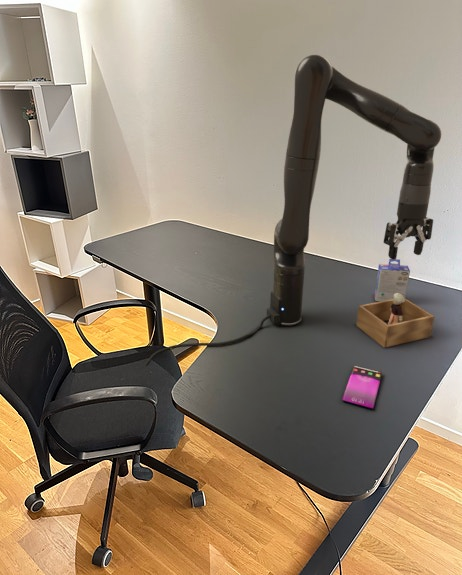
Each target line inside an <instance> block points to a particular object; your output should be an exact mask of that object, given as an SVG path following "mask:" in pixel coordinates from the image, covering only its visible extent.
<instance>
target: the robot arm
mask: <svg viewBox="0 0 462 575" xmlns="http://www.w3.org/2000/svg"><path fill="white" fill-rule="evenodd" d="M293 88H294V89H293V90H294V94H293V96H294V97H293V113H292V119H291V125H290V129H289V134H288V139H287V145H286V151H285V155H284V156H285V158H284V164H283V165H284V166H283V194H284V195H283V196H284V203H283V204H284V206H283V214H282V218H281V219H280V220H278V221H277V223H276V225H275V227H274V233H273V286H272V287H273V289H272V290H271V291H270V297H269V298H270V301H269V307H267V308H266V316H265V317H264V318H262V319H261V321H260V323H259V325H258V326H257V328H256V329H254V330H253V331H251V332H249V333H247V334H244V335H243V336H240V337H237V338H235V339H231V340H226V341H220V342H194V343H181V344H180V343H179V344H174V345H170V346H167V347H164V348H161V349H158V350H157V351H155V352H154V353H152V354H151V355H150V356H149V358H148V359H147V360H146V362H145V363H144V367H148V366H149V365H150V363H151V362H152V360H153V359H154V358H155V357H156V356H158V355H159V354H161V353H164V352H167V351H169V350H172V349H173V350H174V349H177V348H188V347H189V348H190V347H200V346H201V347H203V346H204V347H205V346H206V347H215V346H218V347H219V346H225V345H229V344H234V343H237V342H240V341H242V340H244V339H246V338H249V337H251V336H253V335H255V334H256V333H258V331H260V330H261V328H263V325H264V323H265V322H266V321H267V320H268V319H269V320H270V321H271V322H272V323H273V324H275V325H276V326H277V327H281V326H282V327H294V326H297V325H299V324H300V323H301V322H302V310H303V299H304V298H303V296H304V283H305V271H306V270H305V269H306V268H305V267H306V263H305V262H306V261H305V249H306V246H307V245H308V242H309V240H310V236H309V235H310V219H311V217H310V216H311V207H312V203H313V202H312V201H313V198H314V192H315V189H316V184H317V177H318V173H319V167H320V166H319V165H320V160H321V152H322V119H323V113H324V107H325V104H326V100H328V101H331V102H333V103H335V104H337V105H339V106H341V107H343V108H345V109H347V110H348V111H349V112H351V113H353V114H354V115H356V116H357V117H359V118H360V119H362V120H364V121H365V122H367V123H369V124H370V125H372V126H374V127H375V128H377V129H380V130H382V131H383V132H385V133H387V134H389V135H392V136H394V137H396V138H397V139H399V140H400V141H402V142H403V143H405V144H406V157H405V159H406V160H405V166H404V170H403V175H402V183H401V186H400V191H399V195H398V196H399V198H398V203H397V211H396V216H397V221H396V222H394V223H392V222H387V223H386V226H385V232H384V237H383V244H384V245H387V246H388V254H387V256H388V257H389V259H393V260H394V259H397V256H398V249H399V247H398V246H399V245H400V244H401V242H403V241H405V239H406V238H410V237H414V239H415V241H414V246H413V254H414V255H416V256H420V255H422V252H423V248H424V244H425V242H426V241H427V240H428V241H429V240H431V239H432V234H433V227H434V226H433V225H434V219H433V218H430V217H428V216H427V215H428V210H429V204H430V198H431V191H432V190H431V189H432V188H431V187H432V181H433V175H434V168H435V167H434V154H435V148H436V147H437V146H438V145H439V143H440V142H441V139H442V130H441V127H440V126H439V125H438V124H437V123H436V122H435V121H433V120H431V119H427V118H426V117H423V116H422V115H419V114H417V113H415V112H413V111H411V110H409V109H408V108H407V107H405V106H404V105H403V104H402V103H401V104H400V103H399V102H397V101H395V100H394V99H392V98H389V97H388V96H386V95H384V94H381V93H379V92H377V91H375V90H373V89H371V88H368V87H365V86H364V85H361V84H359V83H357V82H355V81H353V79H352V80H351V79H350V78H348V77H347V76H345V74H343V73H341V72H340V71H339V70H338V69H337V68H335V67H333V66H332V64H331V62H330V61H329V60H328V59H327V58H325V57H324V56H322V55H320V54H310V55H307V56H305V57H304V58H303V59H301V61H299V63H298V64H297V66H296V69H295V71H294V87H293Z"/></svg>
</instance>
